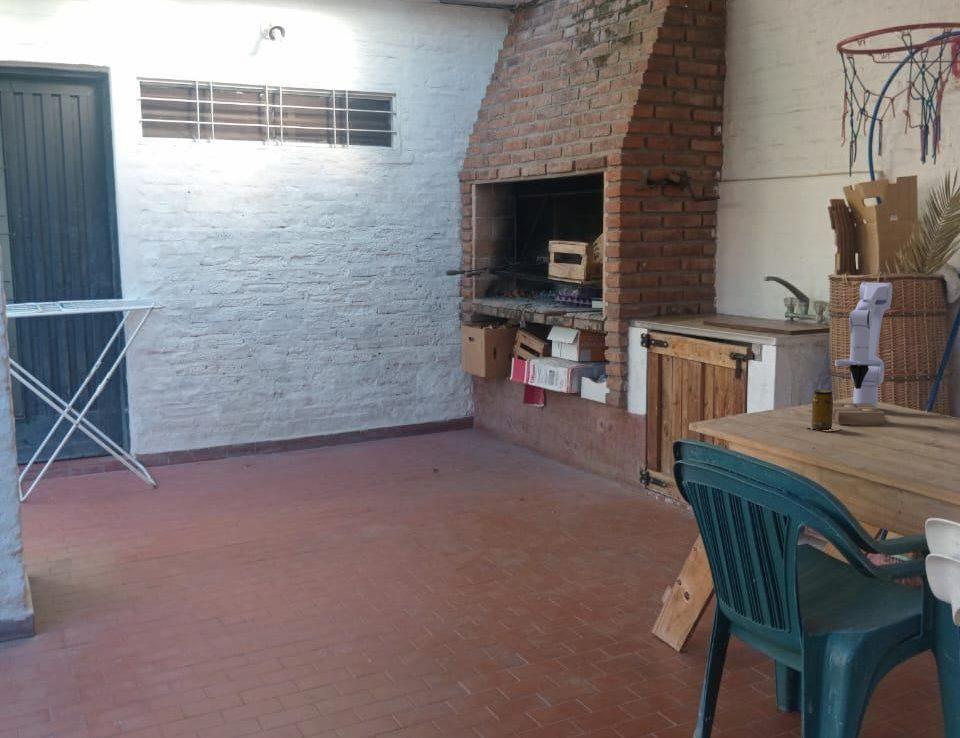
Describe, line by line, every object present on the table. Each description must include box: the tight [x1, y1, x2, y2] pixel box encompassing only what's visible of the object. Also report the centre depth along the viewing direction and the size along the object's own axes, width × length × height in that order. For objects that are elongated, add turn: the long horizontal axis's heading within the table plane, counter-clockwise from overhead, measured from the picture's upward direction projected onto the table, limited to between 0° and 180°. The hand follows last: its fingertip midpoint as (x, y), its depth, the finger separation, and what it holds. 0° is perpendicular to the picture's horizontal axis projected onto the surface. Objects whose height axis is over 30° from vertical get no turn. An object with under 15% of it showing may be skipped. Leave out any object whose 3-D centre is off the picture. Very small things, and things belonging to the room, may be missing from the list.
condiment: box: [811, 389, 834, 433], centre depth 309 cm, size 7×8×12 cm
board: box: [832, 402, 886, 426], centre depth 323 cm, size 16×14×4 cm
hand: (857, 388), depth 324 cm, fingers closed
